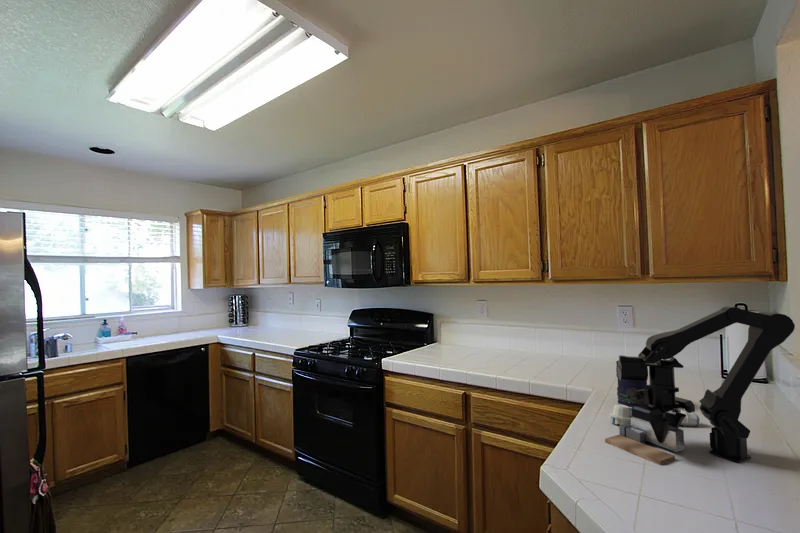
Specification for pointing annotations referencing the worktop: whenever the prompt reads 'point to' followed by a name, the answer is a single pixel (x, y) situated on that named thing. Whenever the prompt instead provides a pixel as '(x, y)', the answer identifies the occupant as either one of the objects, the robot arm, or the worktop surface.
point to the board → (640, 449)
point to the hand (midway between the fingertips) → (664, 440)
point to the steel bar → (672, 437)
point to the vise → (632, 433)
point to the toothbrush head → (624, 416)
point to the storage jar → (628, 385)
